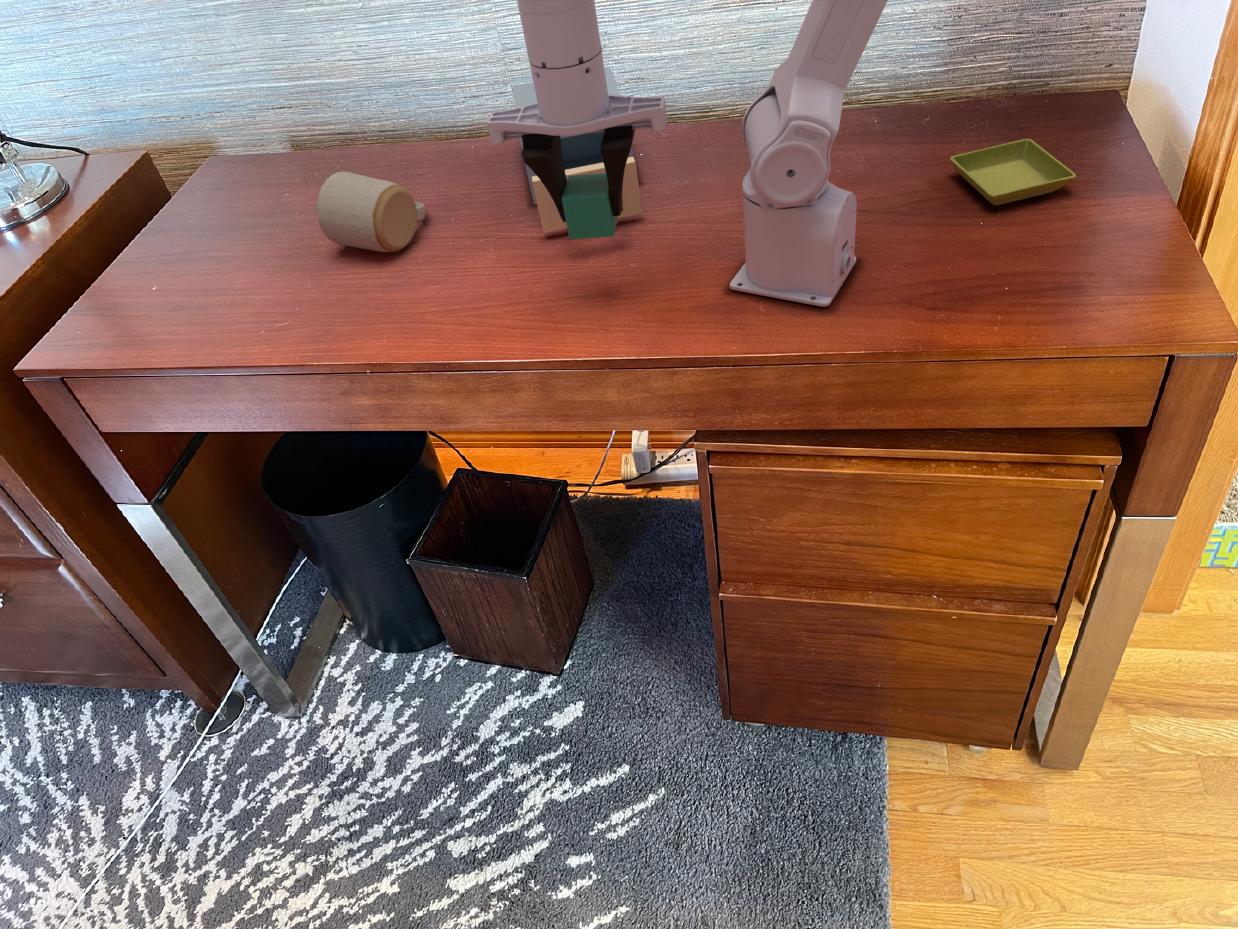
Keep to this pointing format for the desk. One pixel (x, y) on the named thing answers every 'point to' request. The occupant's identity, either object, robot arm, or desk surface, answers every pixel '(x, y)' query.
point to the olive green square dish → (1012, 171)
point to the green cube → (588, 207)
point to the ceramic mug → (367, 212)
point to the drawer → (585, 160)
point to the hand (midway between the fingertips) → (592, 211)
